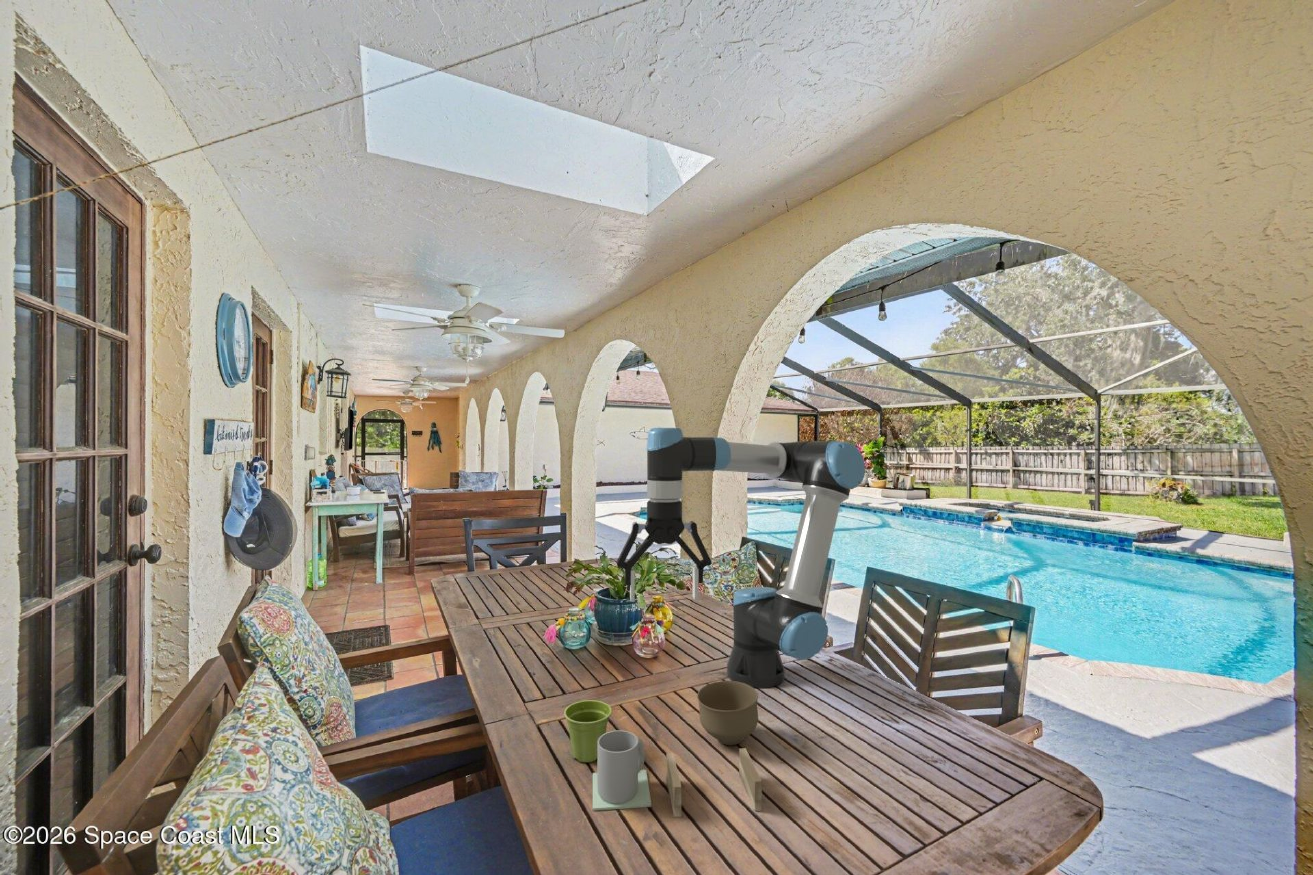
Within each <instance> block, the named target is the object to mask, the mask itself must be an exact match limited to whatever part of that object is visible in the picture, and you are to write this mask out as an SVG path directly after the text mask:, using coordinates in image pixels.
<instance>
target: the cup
mask: <svg viewBox="0 0 1313 875" xmlns="http://www.w3.org/2000/svg"><path fill="white" fill-rule="evenodd" d="M645 759H646V747H645V743H644V741H643V739H641V738H640V737H638V736H637V735H636V734H634V733H633V732H631V731H628V730H617V729H616V730H611V731H608V732H607V731H606V733H605V734H603V735H601V736H600V737H599V739H598V758H597V759H596V760H597V762H596V763H597V764H596V765H597V770H596V771H597V772H596V773H597V789H598V794H599V796H600V797H601V798H602V799H603V800H604V801H606V802H608V803H613V804H620V803H625V802H627V801H630V800H631V799H632V798H633V797H634V796H635V795H636V793H637V790H638V773H639V772H640V771H641V770H643V769H642V768H643V767H644V763H645Z"/></svg>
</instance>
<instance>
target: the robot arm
mask: <svg viewBox="0 0 1313 875" xmlns="http://www.w3.org/2000/svg"><path fill="white" fill-rule="evenodd" d="M646 441H647V442H646V453H647V454H646V455H647V456H646V459H647V460H646V462H647V463H646V466H647V468H646V470H647V471H646V473H647V475H646V477H647V480H646V481H647V483H646V485H647V486H646V498H647V499H649V500H647V502H646V522H645V523H639V522H637V521H634V522H632V524H631V531H630V534H629V536H628V538H627V540H626V542H625V544H624V546H623V548H622V550H621V551H620V554H619V556H618V558H617V560H616V566H617V567H618V568H621V569H623V570H624V582H625V585H626V586H630V587H629V599H630V602H631V603H634V602H635V599H636V598H635V596H636V595H635V594H636V591H635V587H636V586H635V583H636V582H635V580H636V578H635V576H636V573H635V572H636V571H635V567H634V566H635V564H637V562H638V561H639V560H640V559H641V557H642V556H644V554H645V553H646V552H647V551H648V549H649V548H650V547H651V546H652V545H653V544H654V543H655V544H657V545H663V544H668V545H672V544H674V543H675V542H676V543H677V544H678V545H679V546H680V547H681V548H682V550H683V551H684V552H685V553H686V555H687V556H688V557H689V558H690V559H691V560H692V562H693V563H694V564H695V565H696V566H693V565H692V598H693V599H694V600H695V601H699V584H702V583H703V582H704V568H705V567H709V566H711V565H712V564H713V561H712V558H711V557H710V554H709V553H708V551H707V549H706V547H705V545H704V543H703V541H702V539H701V537H700V535H699V532H698V525H697V523H696V522H695V521H694V520H693V521H692V520H691V521H689V522H685V523H684V522H683V502H682V500H680V499H682V498H683V472H707V471H709V472H715V471H720V472H733V473H734V472H735V473H750V474H753V473H754V474H765V475H766V476H767V477H769V478H773V479H782V480H787V481H792V482H796V483H800V484H802V486H801V488H802V490H803V491H804V493H805V498H804V502H803V506H802V511H801V515H800V520H799V523H798V527H797V532H796V535H795V539H794V543H793V547H792V551H791V555H790V559H789V564H788V567H787V572H786V576H785V580H784V583H783V584H784V585H783V587H782V588H780V589H777V588H774V587H768V586H752V587H751V586H750V587H744V588H740V589H738V590H736V592H735V593H734V595H733V604H732V606H733V646H732V648H731V651H730V654H729V658H728V661H727V665H726V675H727V678H729V680H730V681H736V682H741V683H745V684H747V685H749V686H751V687H753V688H757V689H760V688H761V689H765V688H766V689H767V688H772V687H777V686H779V685H781V684H782V683H783V682H784V681H785V672H786V671H785V666H784V664H783V659H782V657H781V654H780V652H781V653H782V654H784V655H785V656H786V657H791V658H793V659H796V660H800V661H805V660H809V659H812V658H813V657H815V655H817V654H819V653H820V651H822V649H823V647H824V646H825V644H826V643H827V642H826V641H827V639H828V635H829V627H828V625H827V623H828V622H827V620H826V618H825V617H824V616H823V615H822V614H823V608H824V605H823V604H822V602H821V600H820V597H819V596H820V592H821V588H822V584H823V579H824V575H825V571H826V566H827V564H828V558H829V554H830V550H831V545H832V540H833V537H834V534H835V533H834V532H835V528H836V523H837V521H838V520H837V519H838V516H839V512H840V508H841V503H843V502H845V501H846V500H848V499H849V497H850V494H851V490H853V489H856V488H858V487H859V485H861V484H862V482H863V481H864V479H865V474H866V463H865V460H864V457H863V456H862V452H861V451H860V449H859V448H858V447H857V446H856V445H855V444H853V443H852V442H848V441H840V440H825V441H824V440H802V441H791V442H778V441H777V442H776V441H775V442H770V443H769V444H768V445H765V444H755V443H746V442H745V443H743V442H732V441H727V440H726V439H725V438H722V437H716V436H703V437H702V436H694V437H692V436H690V437H689V436H684V434H683V430H682V428H680V427H652V428H650V429H649V430H648V432H647V440H646ZM644 530H645V532H646V533H647V534H648V535H647V537H646V538H645V539H644V541H643V542H642V543H640V545H639V546H638V548H637V549H636V550H635V551H634V553H633V554H631V556H630V557H629V558H628V555H629V554H630V552H631V550H632V547H633V546H634V544H635V542H636V540H637V537H638V535H639V534H641V533H642V531H644ZM684 530H686V531H687V532H688V533H690V535H691V537H692V539H693V541H694V543H695V546H696V547H697V549H698V552H699V553H700V556H701V558H702V559H700V558H699V557H698V556H697V555H696V554H695V553H694V552H693V550H692V549H691V548H690V547H689V545H688V544H687V543H686V542H685V541H684V539H683V538H682V537H681V536H680V535H681V534H682V533H683V531H684ZM627 559H628V560H627ZM626 560H627V561H626Z"/></svg>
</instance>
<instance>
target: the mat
mask: <svg viewBox="0 0 1313 875" xmlns="http://www.w3.org/2000/svg"><path fill="white" fill-rule="evenodd" d="M647 774H648V773H647V769H641V771H640V772H639V773H638V790H637V793H636V795H635V796H634V797H633V798H632V799H631V800H630V801H627V802H625V803H620V804H613V803H608V802H606V801H604V800H603V799H602V798H601V797H600V796H599V794H598V789H597V772H592V811H593V812H596V811H605V810H606V811H610V810H622V809H626V810H627V809H639V808H652V799H651V794H650V792H651V791H650V787H649V786H650V785H649V780H648V775H647Z"/></svg>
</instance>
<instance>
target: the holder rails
mask: <svg viewBox="0 0 1313 875" xmlns="http://www.w3.org/2000/svg"><path fill="white" fill-rule="evenodd" d="M738 751H739V752H738V754H739V756H738V758H739V759H738V760H739V761H738V762H739V763H738V766H739V770H738V774H739V778H740V780H741V783H742V785H743V787H744V789H745V792H746V794H747V797H748V798H749V801H750V804H751V806H752V808H753V810H754V812H761V811H762V809H763V808H762V806H763V805H762V804H763V801H762V800H763V796H762V795H763V789H762V788H763V784H762V783H763V782H762V779H761V777H760V774H759V772H758V771H757V768H756V767H755V764H754V762H753V760H752V758H751V757H750V754H749V752H748V751H747V748H746V747H745V748H739V749H738ZM665 758H666V760H665V761H666V762H665V763H666V764H665V765H666V767H665V768H666V770H665V772H666V776H665V777H666V778H665V779H666V780H665V781H666V785H667V790H668V795H669V799H670V803H671V809H672V813H673V817H674V818H679V817H681V818H682V783H681V779H680V775H679V773H678V772H679V771H678V768H677V763H676V760H675V756H674V753H673V752H666V757H665Z"/></svg>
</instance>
